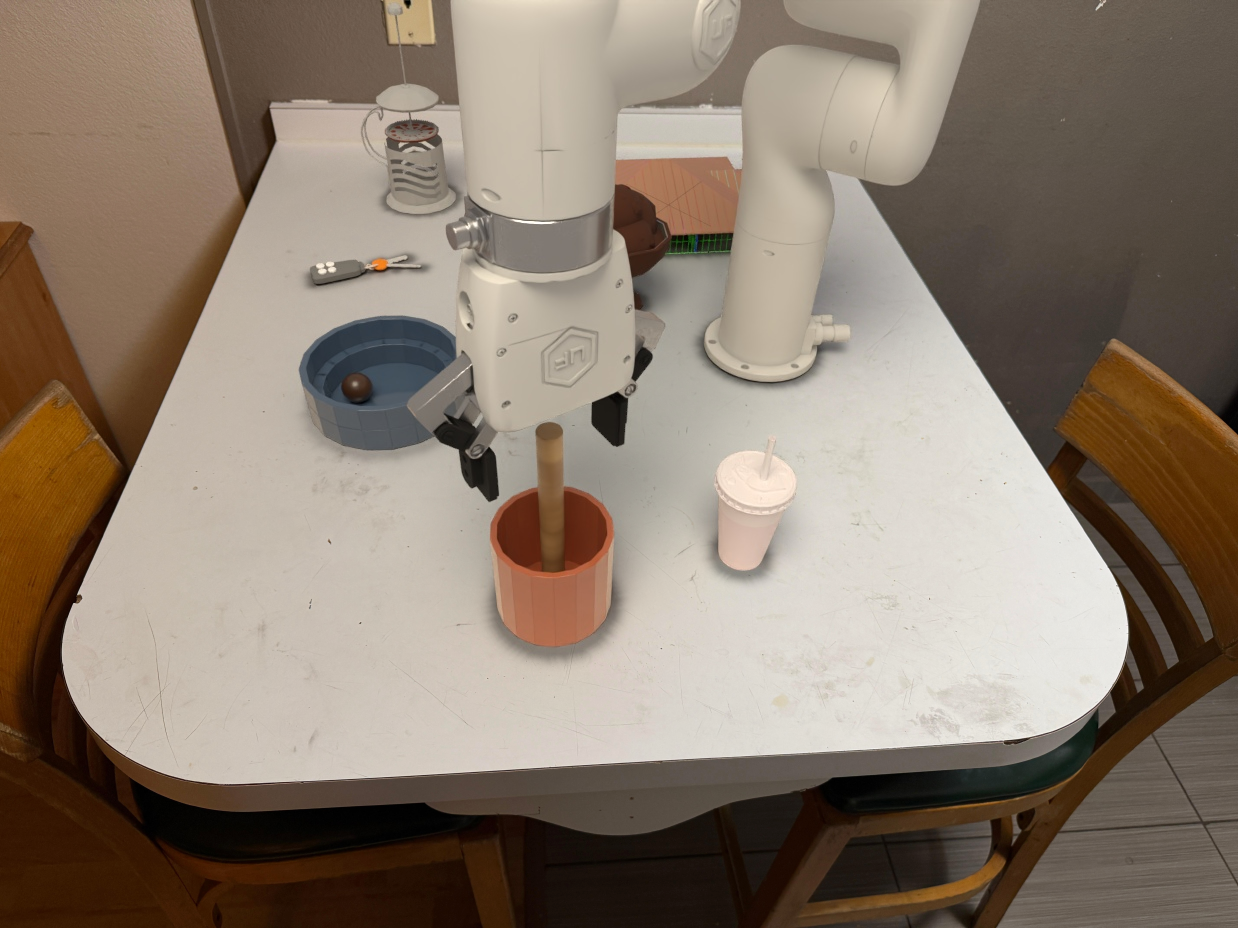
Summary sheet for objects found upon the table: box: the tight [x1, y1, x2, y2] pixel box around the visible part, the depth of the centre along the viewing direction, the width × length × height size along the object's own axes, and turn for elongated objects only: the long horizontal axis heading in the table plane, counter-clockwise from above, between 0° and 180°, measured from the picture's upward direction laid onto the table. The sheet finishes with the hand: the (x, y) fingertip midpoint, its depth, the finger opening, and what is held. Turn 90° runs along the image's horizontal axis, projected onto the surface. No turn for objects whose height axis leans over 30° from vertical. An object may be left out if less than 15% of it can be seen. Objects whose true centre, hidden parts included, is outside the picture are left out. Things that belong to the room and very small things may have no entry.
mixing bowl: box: [298, 314, 466, 451], centre depth 81 cm, size 15×15×6 cm
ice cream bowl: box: [613, 184, 673, 310], centre depth 93 cm, size 11×11×15 cm
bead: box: [341, 373, 373, 403], centre depth 81 cm, size 3×3×3 cm
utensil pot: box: [489, 485, 615, 648], centre depth 63 cm, size 9×9×9 cm
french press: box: [360, 2, 457, 215], centre depth 107 cm, size 10×12×25 cm
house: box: [615, 156, 742, 255], centre depth 112 cm, size 23×33×8 cm
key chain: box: [309, 254, 422, 285], centre depth 101 cm, size 13×4×2 cm, turn 114°
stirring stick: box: [534, 421, 565, 573], centre depth 59 cm, size 2×2×18 cm
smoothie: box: [713, 435, 798, 571], centre depth 65 cm, size 6×6×14 cm
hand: (547, 460), depth 54 cm, fingers open, 9 cm apart
